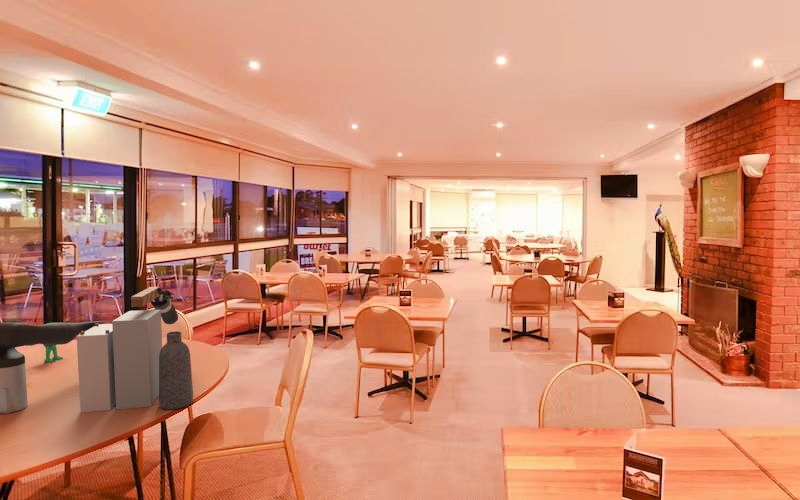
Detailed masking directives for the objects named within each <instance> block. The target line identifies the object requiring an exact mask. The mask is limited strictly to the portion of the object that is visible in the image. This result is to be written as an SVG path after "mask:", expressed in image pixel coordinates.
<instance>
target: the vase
mask: <svg viewBox="0 0 800 500" xmlns="http://www.w3.org/2000/svg"><path fill="white" fill-rule="evenodd" d="M182 340H183V339H182V332H181V331H169V332H167V333H166V343H165V344H164V345H162V349H161V351H160V354H159V396H158V406H159V407H160V409H161V410H162V409H163V410H168V411H169V410H170V411H171V410H178V409H182V408H186V407H188V406H190V405H192V404H193V402H194V389H193V388H194V387H193V386H194V385H193V375H192V374H193V373H192V361H191V352H190V351H191V350H190V348H189V346H188V345H187V344H186V343H185V342H184V341H182Z"/></svg>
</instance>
